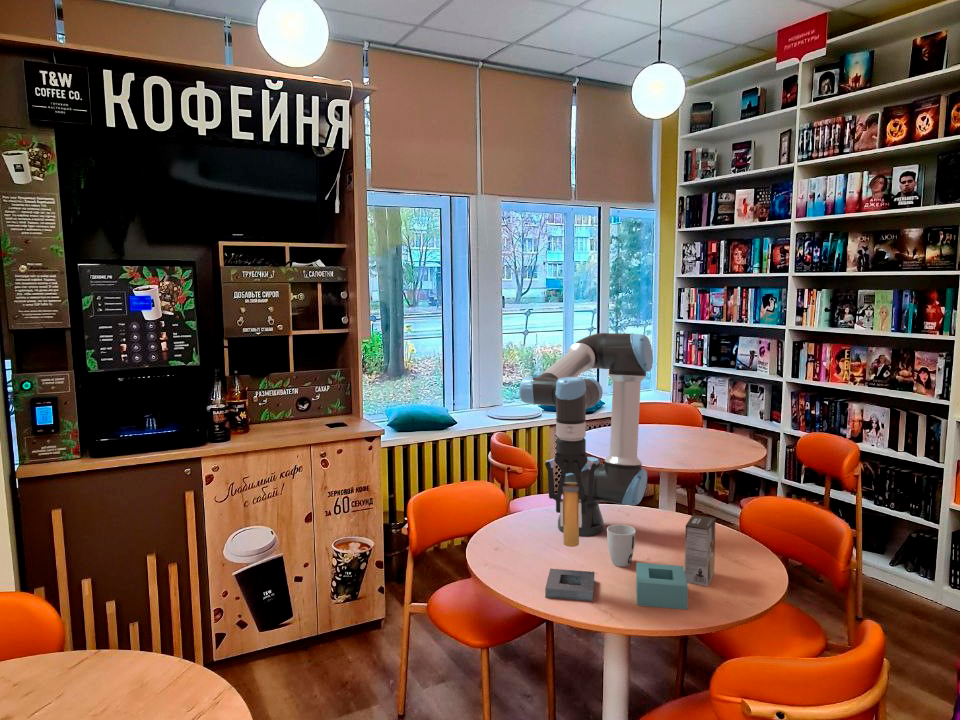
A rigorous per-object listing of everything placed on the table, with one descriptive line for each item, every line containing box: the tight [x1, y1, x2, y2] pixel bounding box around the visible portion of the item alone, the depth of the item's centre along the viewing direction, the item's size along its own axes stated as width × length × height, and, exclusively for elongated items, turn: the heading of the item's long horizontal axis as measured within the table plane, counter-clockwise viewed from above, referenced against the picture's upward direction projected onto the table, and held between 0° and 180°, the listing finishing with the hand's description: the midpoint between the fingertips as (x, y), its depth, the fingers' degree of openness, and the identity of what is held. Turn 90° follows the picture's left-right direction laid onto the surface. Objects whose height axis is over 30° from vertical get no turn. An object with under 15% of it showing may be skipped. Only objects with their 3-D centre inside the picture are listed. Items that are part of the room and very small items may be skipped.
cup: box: [606, 524, 637, 568], centre depth 188 cm, size 8×8×10 cm
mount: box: [545, 568, 595, 602], centre depth 173 cm, size 12×12×2 cm
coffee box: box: [684, 514, 717, 587], centre depth 177 cm, size 9×6×16 cm
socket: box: [635, 562, 689, 610], centre depth 168 cm, size 12×12×6 cm
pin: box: [562, 482, 580, 548], centre depth 171 cm, size 5×5×16 cm
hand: (571, 524), depth 171 cm, fingers closed on pin, 4 cm apart
